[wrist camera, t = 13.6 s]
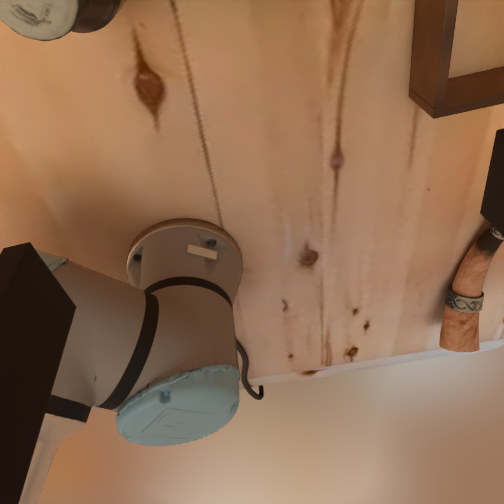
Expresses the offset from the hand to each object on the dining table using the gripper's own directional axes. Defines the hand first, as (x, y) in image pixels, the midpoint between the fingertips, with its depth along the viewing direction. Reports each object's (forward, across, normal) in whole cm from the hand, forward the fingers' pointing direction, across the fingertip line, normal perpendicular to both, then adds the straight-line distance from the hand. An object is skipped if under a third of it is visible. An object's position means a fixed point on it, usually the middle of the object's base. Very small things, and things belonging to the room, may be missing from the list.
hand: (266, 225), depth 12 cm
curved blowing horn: (+33, -29, +38) cm, 58 cm away
